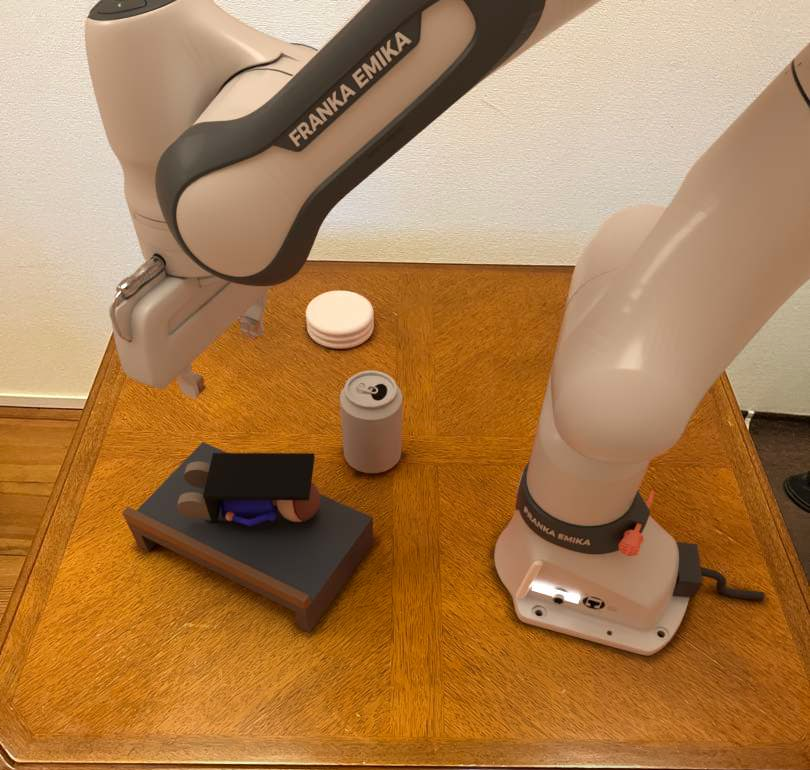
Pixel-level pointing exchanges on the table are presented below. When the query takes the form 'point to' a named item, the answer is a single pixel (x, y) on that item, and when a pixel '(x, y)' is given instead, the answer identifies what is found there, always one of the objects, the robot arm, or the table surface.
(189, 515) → the figurine character
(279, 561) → the shelf
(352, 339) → the coaster
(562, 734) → the table surface
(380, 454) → the can
